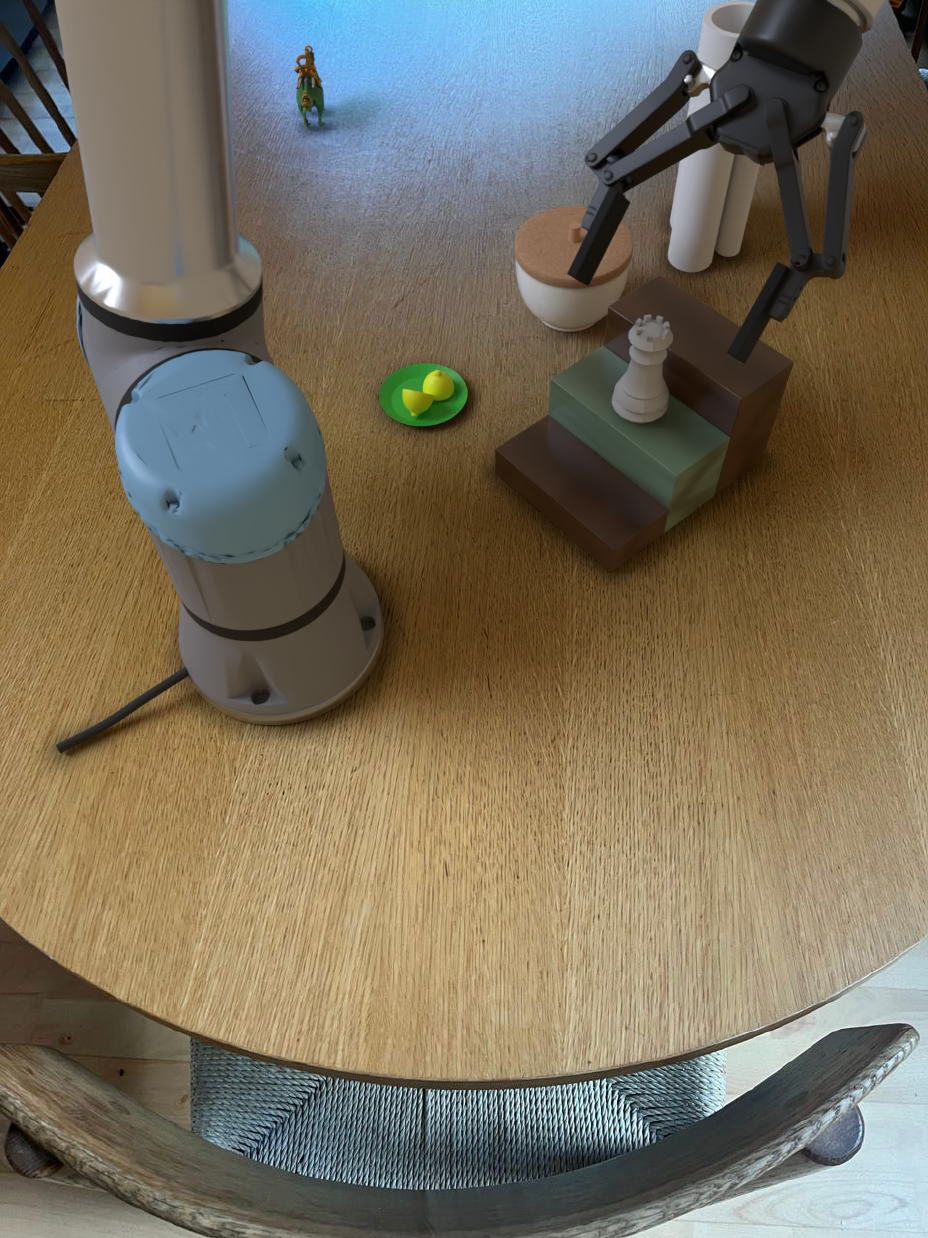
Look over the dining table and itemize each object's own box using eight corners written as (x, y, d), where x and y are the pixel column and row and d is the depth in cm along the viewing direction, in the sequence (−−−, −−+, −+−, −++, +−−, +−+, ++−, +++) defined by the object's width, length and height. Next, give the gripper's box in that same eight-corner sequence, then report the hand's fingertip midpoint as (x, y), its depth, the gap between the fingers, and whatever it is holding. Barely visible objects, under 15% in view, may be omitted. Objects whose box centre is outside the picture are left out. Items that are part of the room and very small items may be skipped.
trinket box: (617, 354, 91) (629, 269, 83) (504, 341, 93) (505, 256, 85) (630, 281, 97) (642, 194, 89) (523, 270, 98) (525, 184, 91)
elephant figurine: (330, 96, 117) (319, 23, 110) (325, 154, 110) (313, 80, 103) (304, 97, 117) (292, 25, 110) (297, 155, 110) (284, 82, 103)
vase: (669, 202, 104) (702, -1, 87) (739, 206, 103) (785, 2, 86) (667, 270, 98) (701, 66, 81) (740, 275, 97) (791, 70, 80)
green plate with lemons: (452, 438, 86) (451, 415, 84) (367, 421, 87) (363, 397, 85) (478, 377, 90) (478, 353, 88) (396, 361, 92) (393, 337, 89)
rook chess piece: (670, 426, 77) (686, 346, 70) (612, 427, 77) (623, 347, 70) (664, 386, 79) (680, 304, 72) (608, 386, 79) (619, 305, 72)
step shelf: (610, 573, 78) (625, 480, 68) (494, 473, 84) (494, 375, 74) (762, 460, 84) (794, 361, 74) (643, 375, 90) (660, 273, 81)
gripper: (999, 97, 63) (818, 401, 69) (671, -14, 72) (538, 262, 79) (999, 46, 56) (799, 386, 63) (638, -70, 65) (496, 237, 72)
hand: (653, 318), depth 71 cm, fingers open, 13 cm apart
